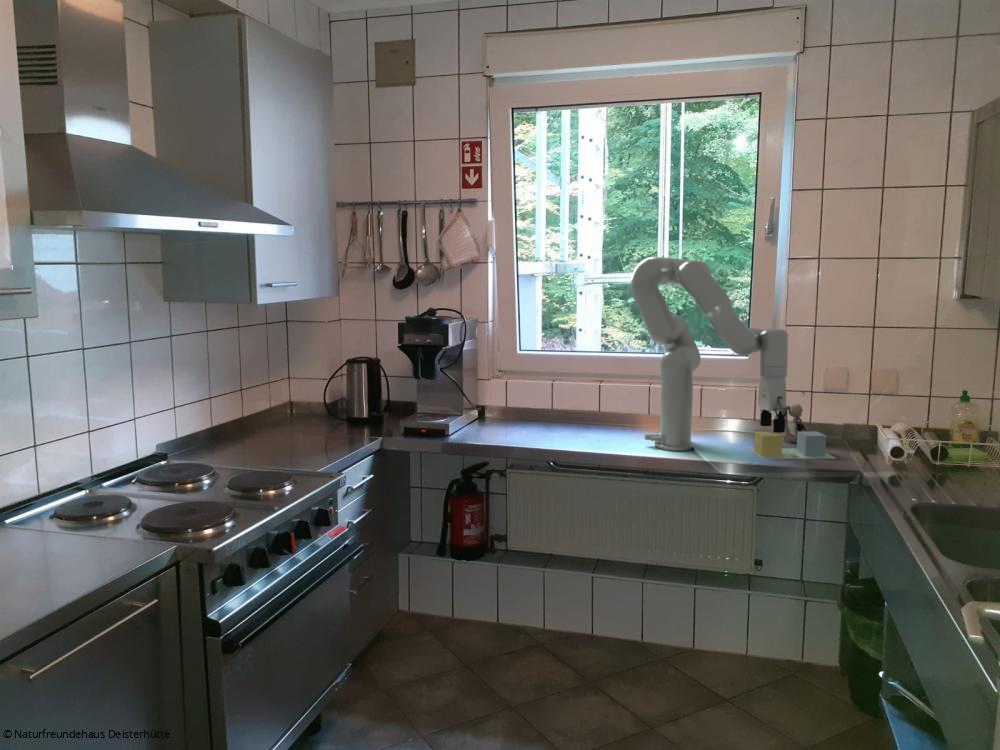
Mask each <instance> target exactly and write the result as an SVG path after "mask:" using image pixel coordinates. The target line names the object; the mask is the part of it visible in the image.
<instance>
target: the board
mask: <svg viewBox="0 0 1000 750" xmlns="http://www.w3.org/2000/svg"><path fill="white" fill-rule="evenodd" d="M796 449H797V448H782V456H761V455H759V454H758V453H756V452H754V448H747V451H750V452H751V453H753V454H754V455H756V456H757V457H758V458H760V459H762V460H763V459H764V460H769V459H770V460H787V459H788V460H795V459H796V460H797V459H798V460H799V459H800V460H805V459H809V460H810V459H811V460H812V459H818V460H821V459H824V460H825V459H827V460H828V459H830V460H831V459H837V458H836V457H835V456H833V455H831V454H829V453H827V452H825V456H804V455H803V454H801V453H799V452H797V451H796Z"/></svg>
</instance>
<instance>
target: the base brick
mask: <svg viewBox="0 0 1000 750" xmlns="http://www.w3.org/2000/svg"><path fill="white" fill-rule="evenodd" d="M796 438H797V439H796V440H797V442H796V448H795V449H796V451H797V452H799V453H801V454H803V455H804V456H825V453H826V448H827V435H825V434H824V433H821V432H819V431H809V430H807V431H806V432H798V434H797V435H796Z"/></svg>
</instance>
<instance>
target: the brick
mask: <svg viewBox="0 0 1000 750" xmlns="http://www.w3.org/2000/svg"><path fill="white" fill-rule="evenodd" d="M783 442H784V441H783V436H782V435H780V433H774V432H773V431H755V432H754V444H753V445H754V448H753V449H754V452H756V453H758V454H759V455H761V456H782V449H783Z"/></svg>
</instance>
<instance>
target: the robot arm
mask: <svg viewBox="0 0 1000 750" xmlns="http://www.w3.org/2000/svg"><path fill="white" fill-rule="evenodd" d="M659 285H668V286H675V287H682V288H683V289H684V291H685V292H686V293H687V294H688V296H690V298H691V299H692V300H693V302H695V304H696V305H697V306H698V308H699V309H700V310H702V313H704V315H705V316H706V318H707V320H708V321H709V324H711V326H712V328H713V329H714V331H715V332H716V333H717V335H718V336H719V338H721V340H722V341H723V342H724V343H725V344H726V346H727V347H728V348H729V349H730V350H731V351H732V352H733V353H735V354H736V355H738V356H748V355H751V354H753V353H759V357H760V358H759V378H760V379H759V386H758V394H757V395H758V397H757V398H758V399H757V405H758V407H759V408H760V409H759V411H760V420H759V421H760V423H759V425H760V427H771V426H773V429H772V430H773V431H772V432H774V433H778V434H780V433H783V432H785V419H786V416H785V415H786V410H787V406H788V405H787V384H786V382H787V381H786V378H788V354H789V353H788V352H789V351H788V350H789V349H788V348H789V347H788V346H789V334H788V331H787V330H785V329H783V328H782V329H781V328H769V329H759V328H754V327H747V326H746V325H745V324H744V323H743V322H742V320H741V319H740V318H739V316H738V315H737V313H736V312H735V311H734V309H733V307H732V304H731V303H732V302H731V299H730V297H729V295H728V293H726V291H725V290H724V289H723V287H721V286H720V284H719V283H718V282H717V281H716V280H715V278H714V277H713V276H712V271H711V268H710V267H709V265H708V264H707V263H706V262H704V261H701V260H694V259H693V260H692V259H680V258H671V257H665V256H664V257H662V256H661V257H659V256H651V257H647V258H644V259H643V260H641V261H640V262H639V263H638V264H637V265H636V267H635V268H634V270H633V271H632V274H631V278H630V291H631V295H632V297H633V299H634V303H635V304H636V306H637V308H638V310H639V313H640V316H641V318H642V320H643V323H644V325H645V327H646V328H647V331H648V333H649V335H650V338H651V339H652V341H653V342H654V343H655V344H657V345H660V346H663V347H664V348H665V350H666V351H665V352H664V354H663V355H662V357H661V360H660V378H661V380H660V381H661V389H660V390H661V392H660V393H661V396H660V397H661V398H660V399H661V400H660V421H659V422H660V423H659V427H660V428H659V430H656V431H657V432H654V433H652V434H651V433H645V434H644V440H645V441H651V442H654V447H656V448H658V449H661V450H665V451H673V452H683V451H684V452H686V451H687V452H688V451H692V450H694V449H695V448H694V447H695V446H696V442H694V441H692V424H693V423H692V421H693V399H694V398H693V397H694V385H693V381H694V380H693V372H694V371H696V370H697V369H698V368H699V366H700V364H701V353H700V351H699V348H698V345H697V343H696V342H695V340H694V339H695V338H694V337H693V335H692V332H691V330H690V329H689V326H688V325H687V323H686V321H685V320H684V318H683V317H682V316H680V315H679V314H677V313H673V312H671V310H670V308H669V306H668V304H667V301H666V299H665V297H664V295H663V294H662V292H661V290H660V288H659ZM787 411H788V410H787ZM772 412H773V413H772ZM772 415H773V416H774V418H772ZM772 419H773V425H772Z"/></svg>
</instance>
